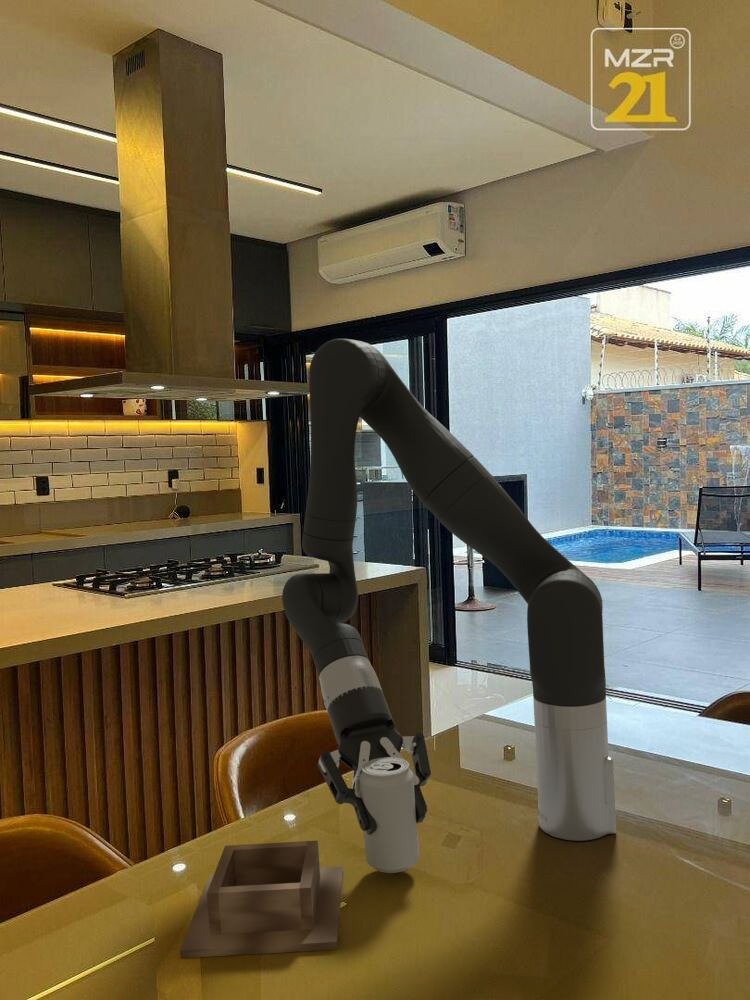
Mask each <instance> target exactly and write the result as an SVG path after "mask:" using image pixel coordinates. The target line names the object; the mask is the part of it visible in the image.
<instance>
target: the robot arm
mask: <svg viewBox="0 0 750 1000" xmlns="http://www.w3.org/2000/svg"><path fill="white" fill-rule="evenodd" d="M308 376H309V377H308V383H309V385H308V387H309V406H310V459H309V460H310V463H309V465H310V466H309V479H308V489H307V497H306V498H307V499H306V507H305V514H304V522H303V523H304V524H303V533H302V541H301V547H302V550H303V552H304V554H305V555H307V556H309V557H311V558H313V559H317V560H321V561H325V562H327V564H328V567H329V573H328V572H326V573H325V572H324V573H321V572H320V573H314V572H313V573H312V572H311V573H298V574H297V573H296V574H295V575H292V576H291V577H290V578H288V580H286V582H285V583H284V586H283V589H282V593H281V597H282V599H281V603H282V606H283V607H282V609H283V611H284V614H285V616H286V618H287V620H288V621H289V624H290V625H291V626H292V628H293V629H294V630H295V632H296V634H297V635H298V636H299V638H300V640H301V641H302V643H303V644H304V645H305V647H306V649H307V650H308V651H309V653H310V655H311V656H312V660H313V663H314V667H315V670H316V672H317V676H318V678H319V679H318V680H319V684H320V688H321V689H320V690H321V695H322V698H323V703H324V707H325V709H326V711H327V714H328V719H329V720H330V724H331V726H332V730H333V734H334V737H335V740H336V742H337V749H335V750H333V751H331V752H329V751H327V750H324V751H322V752H321V754H320V757H319V759H318V762H317V767H318V769H319V772H320V773H321V775H322V777H323V779H324V781H325V783H326V785H327V787H328V789H329V791H330V793H331V795H332V797H333V799H334V801H335V802H336V804H338V805H343V804H350V805H351V806H352V807H353V809H354V811H355V815H356V818H357V822H358V824H359V828H360V829H361V830H362V831H363V832H364V831H365V830H366V832H367V834H368V835H370V834H372V833H373V832H375V831H376V829H377V825H376V821H375V819H374V818H373V817H372V816H371V814H370V813H369V812H368V810H367V808H366V806H365V804H364V802H363V799H362V795H361V794H362V793H361V790H360V780H359V778H360V775H361V773H362V766H363V764H365V763H366V762H369V761H370V760H373V759H377V758H383V757H396V758H401V759H404V760H406V759H405V757H403V756H402V754H401V750H402V747H403V748H405V750H406V752H407V753H408V755H411V758H412V763H413V769H414V770H413V769H412V768H411V767H409V769H410V770H411V771H412V773H413V780H414V794H415V807H416V821H417V824H420V823H423V821H424V820H425V817H426V814H427V812H428V806H427V803H426V801H425V798H424V794H423V792H422V790H421V787H424V786H425V785H426V784H427V781H428V779H429V778H430V776H431V775H432V772H431V767H430V760H429V756H428V750H427V745H426V741H425V739H426V738H425V735H424V734H423V733H422V732H415V735H413V736H412V735H411V736H410V735H409V736H408V735H407V736H405V735H402V734H401V733H400V732H399V731H398V730H397V729H396V727H395V723H394V718H393V717H392V714H391V710H390V709H389V706H388V702H387V701H386V700H387V699H386V697H385V694H384V692H383V689H382V687H381V683H380V681H379V678H378V676H377V673H376V671H375V669H374V668H373V666H372V664H371V662H370V659H369V656H368V654H367V651H366V648H365V645H364V642H363V639H362V637H361V634H360V633H359V631H358V630H357V628H355V627H354V626H352V625H350V624H347V623H345V622H347V621H349V620H350V619H351V618H352V617H353V616H354V614H355V612H356V610H357V608H358V603H359V590H358V583H357V579H356V578H357V577H356V571H355V562H354V553H353V551H354V550H353V546H354V545H353V543H354V536H355V535H354V534H355V528H356V521H357V520H356V519H357V512H358V485H357V473H356V471H357V470H356V461H355V460H356V459H355V458H356V457H355V448H356V446H355V445H356V435H357V429H358V424H359V420H360V419H361V420H362V421H363V422H365V423H366V425H368V426H369V427H370V428H371V429H372V430H373V431H374V432H375V433H376V434H377V435H378V436H379V438H380V439H382V441H383V443H384V444H385V445H386V447H387V448H388V449H389V451H390V453H391V454H392V456H393V458H394V460H395V462H396V463H397V466H398V468H399V469H400V471H401V474H402V475H403V477H404V479H405V481H406V482H407V484H408V485H409V486H410V488H411V490H412V491H413V493H414V494H415V495H416V497H418V499H419V500H420V501H421V503H423V505H424V506H425V507H426V508H427V510H429V511H430V513H432V515H433V516H434V517H435V518H436V519H437V520H438V521H439V522H440V524H441V525H443V526H444V528H446V529H447V530H448V532H450V533H451V534H452V535H454V536H455V537H456V538H457V539H458V540H460V541H461V542H462V543H464V545H465V544H466V545H467V546H468V547H469V548H470V549H472V550H474V551H475V552H477V553H478V554H479V555H481V556H482V557H484V559H486V560H487V561H489V562H491V564H493V565H494V566H495V567H496V568H497V569H498V570H499V571H500V572H501V573H502V574H503V575H504V576H505V577H506V578H507V580H508V581H509V582H510V584H511V585H512V586H513V587H514V588H515V589H516V591H517V592H518V593H519V594H520V596H521V597H522V598H523V600H524V601H525V602H526V604H527V609H526V610H527V611H526V615H527V616H526V620H527V621H526V625H527V642H528V644H527V645H528V659H529V672H530V673H529V674H530V678H531V682H532V684H531V685H532V695H533V701H532V702H533V717H534V718H533V719H534V736H535V737H534V738H535V741H534V743H535V759H536V760H535V761H536V763H535V764H536V780H537V781H536V782H537V783H536V784H537V800H538V804H537V805H538V806H537V808H538V809H537V810H538V821H539V822H538V824H539V827H540V829H541V830H542V831H543V832H544V833H545V834H548V835H549V836H552V837H554V838H557V839H561V840H568V841H581V842H582V841H590V840H596V839H599V838H600V839H601V838H602V837H604V836H606V835H609V834H617V821H616V820H617V816H616V797H615V796H616V795H615V793H616V791H615V772H614V771H615V770H614V769H615V768H614V767H615V766H614V759H613V758H612V757H611V755H610V754H609V735H608V713H607V686H606V685H607V681H606V669H605V666H606V665H605V652H604V650H605V647H604V643H605V642H604V622H603V598H602V595H601V592H600V589H599V588H598V586H597V584H596V583H595V582H594V581H593V580H592V579H591V578H590V577H589V576H588V575H587V574H585V573H584V572H583V571H582V570H581V569H579V567H578V566H576V565H575V564H573V562H571V561H570V560H569V559H567V557H565V556H564V555H563V554H562V553H561V552H560V551H559V550H557V548H555V547H554V546H553V545H552V544H551V543H550V542H549V541H548V540H546V538H545V537H543V535H542V534H540V532H539V531H538V530H537V529H536V528H535V527H534V526H533V524H532V523H531V521H529V519H528V517H526V515H525V514H524V512H523V511H522V510H521V508H520V507H519V506H518V505H517V503H516V501H514V499H513V498H511V496H510V495H509V494H508V492H507V491H506V490H505V489H504V488H503V486H502V485H500V483H499V482H498V481H497V480H496V479H495V477H494V476H493V475H492V474H491V473H490V471H488V469H487V468H486V467H485V466H484V464H482V463H481V462H480V461H479V460H478V459H477V457H475V456H474V454H472V452H471V451H470V450H469V449H468V448H467V447H465V445H464V444H462V443H461V442H460V440H458V438H457V437H455V435H453V434H452V433H451V432H450V431H449V429H448V428H446V427H445V426H444V425H443V424H442V423H441V422H440V421H439V420H438V419H436V417H434V415H432V414H431V413H430V412H429V411H428V410H427V409H426V408H425V407H424V406H423V405H422V404H421V403H420V402H419V400H418V399H417V398H416V397H415V395H414V394H413V393H412V392H411V390H410V389H409V388H408V387H407V385H406V384H405V383H404V381H403V380H402V379H401V377H400V376H399V374H398V373H397V372H396V371H395V369H394V368H393V366H392V365H391V364H390V363H389V361H388V360H387V358H386V357H385V356H384V354H383V353H382V352H381V351H380V350H379V349H378V348H377V347H375V346H373V345H371V344H370V343H369V342H366V341H362V340H356V339H349V338H334V339H331V340H329V341H327V342H325V343H323V344H322V345H321V346H319V347H318V349H317V350H316V351H315V353H314V354H313V356H312V359H311V361H310V364H309V374H308ZM340 762H342V763H343V764H345V765H346V766H347V767H348V768H349V769H351V770H352V771H353V774H352V782H351V787H350V788H349V787H348V785H347V783H346V781H345V780H344V777H343V775H342V774H341V772H340V770H339V769H340V768H339V766H340ZM391 765H392V764H391ZM395 765H396V769H397V770H398V769H400V768H401V765H400V764H397V763H395Z"/></svg>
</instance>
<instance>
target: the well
mask: <svg viewBox="0 0 750 1000" xmlns="http://www.w3.org/2000/svg"><path fill="white" fill-rule="evenodd" d="M319 854H320V852H319V840H303V841H302V840H299V841H288V842H287V841H285V842H283V841H282V842H268V843H267V842H266V843H264V842H263V843H251V844H250V843H248V844H229V845H224V848H223V850H222V852H221V855H220V859H219V861H218V864H217V866H216V869H215V871H214V872H210V873H209V875H208V878H207V881H206V883H205V886H204V888H203V890H202V894H201V896H200V899H199V901H198V902H197V903H198V904H197V906H196V909H195V912H194V914H193V916H192V919H191V920H190V921H191V922H190V925H189V926H188V929H187V932H186V934H185V937H184V939H183V941H182V945H181V947H180V950H179V953H180V955H179V957H180V959H185V958H186V959H187V958H189V959H190V958H204V957H205V958H206V957H222V956H223V957H224V956H238V955H239V956H241V955H242V956H243V955H255V954H256V955H258V954H259V955H261V954H276V953H277V954H279V953H280V954H281V953H294V952H295V953H296V952H298V953H299V952H314V951H330V950H331V951H332V950H334V951H335V950H338V943H339V928H340V920H341V919H340V918H341V917H340V915H341V904H342V895H343V893H342V892H343V881H344V880H343V878H344V866H343V865H338V866H337V865H335V866H320V855H319Z"/></svg>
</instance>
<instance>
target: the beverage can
mask: <svg viewBox="0 0 750 1000" xmlns="http://www.w3.org/2000/svg"><path fill="white" fill-rule="evenodd" d="M404 759H405V758H404ZM404 759H401V758H396V757H383V758H377V759H373V760H370V761H369V762H366V763H365V764H363V766H362V773H361V775H360V778H359V780H360V790H361V793H362V794H361V795H362V799H363V802H364V804H365V806H366V808H367V810H368V812H369V813H370V814H371V816H372V817H373V818H374V819H375V821H376V825H377V829H376V831H375V832H373V833H372V834H370V835H368V834H367V832H366V830H365V831H363V841H364V842H363V843H364V855H365V861H366V863H367V865H369V866H370V867H371V868H373V869H374V870H376V871H378V872H380V873H386V874H394V873H400V872H404V871H406V870H409V869H411V867H413V865H414V864H416V862H417V861H418V860H419V857H420V856H419V855H420V851H419V840H418V838H419V837H418V836H419V835H418V825H417V824H418V823H417V821H416V807H415V794H414V780H413V773H412V771H413V770H412V769H411V768H410V763H409V761H407V760H406V759H405V760H404ZM395 763H397V764H400V765H401V768H400V769H398V770H397V769H396V765H395ZM391 764H392V765H391ZM409 768H410V769H411V770H412V771H411V770H410V769H409Z"/></svg>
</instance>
